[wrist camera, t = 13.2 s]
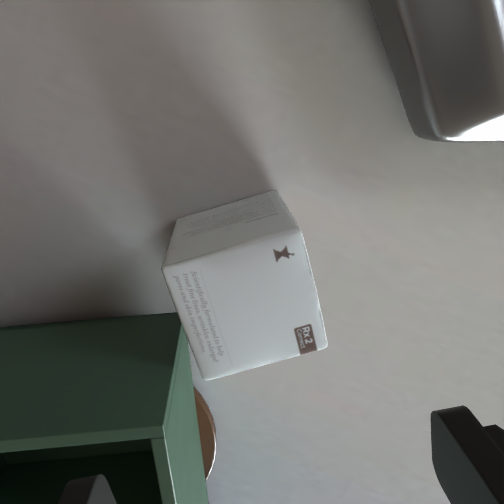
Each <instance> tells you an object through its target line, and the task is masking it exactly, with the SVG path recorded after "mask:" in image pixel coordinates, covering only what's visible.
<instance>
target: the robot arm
mask: <svg viewBox="0 0 504 504" xmlns="http://www.w3.org/2000/svg"><path fill="white" fill-rule="evenodd" d="M431 441H432V460H433V465H434V469H435V472H436V475H437V478H438V480H439V483H440V485H441V487H442V489H443V490H444V492H445V494H446V496H447V497H448V499H449V501H450V503H451V504H504V430H503V429H502V428H500V427H498V426H497V425H490V426H485V427H483V426H482V425H481V424H480V422H479V421H478V420H477V419H476V417H475V416H474V415H473V414H472V412H471V411H470V410H469V409H468V408H467V407H465V406H458V407H453V408H448V409H442V410H437V411H433V412H432V413H431ZM58 504H117V503H116V501H115V498H114V496H113V494H112V491H111V489H110V487H109V484H108V482H107V479H106V478H105V476H104V475H102V474H100V475H95V476H90V477H85V478H79V479H74V480H70V481H69V482H68V483H67V484H66V486H65V488H64V490H63V492H62V495H61V497H60V500H59V502H58Z"/></svg>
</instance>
